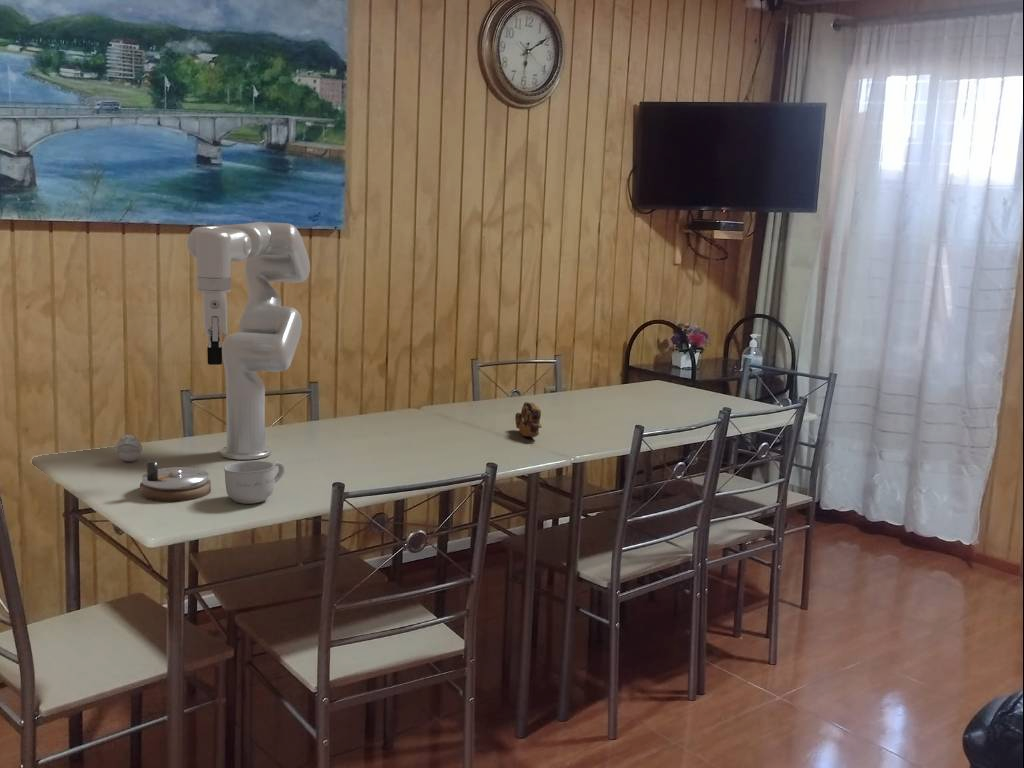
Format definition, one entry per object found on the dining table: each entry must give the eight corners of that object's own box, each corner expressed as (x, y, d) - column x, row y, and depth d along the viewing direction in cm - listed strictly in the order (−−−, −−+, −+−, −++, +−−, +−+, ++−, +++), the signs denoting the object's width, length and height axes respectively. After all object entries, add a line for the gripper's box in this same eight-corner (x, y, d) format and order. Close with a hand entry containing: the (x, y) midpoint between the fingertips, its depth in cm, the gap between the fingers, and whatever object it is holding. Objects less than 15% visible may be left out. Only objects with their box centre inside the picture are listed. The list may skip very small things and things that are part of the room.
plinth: (141, 484, 226) (141, 475, 226) (209, 481, 231) (209, 472, 231) (138, 503, 212) (138, 494, 212) (211, 499, 217) (211, 491, 217)
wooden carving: (508, 430, 296) (510, 397, 294) (522, 429, 298) (524, 397, 296) (531, 443, 281) (533, 408, 279) (546, 442, 283) (547, 408, 281)
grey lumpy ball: (113, 465, 241) (112, 437, 239) (118, 458, 247) (118, 430, 246) (140, 465, 242) (139, 437, 240) (144, 457, 248) (143, 430, 247)
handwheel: (163, 494, 212) (162, 469, 211) (130, 480, 221) (129, 456, 220) (220, 482, 222) (220, 459, 221) (187, 470, 231) (186, 447, 230)
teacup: (235, 510, 211) (234, 474, 210) (217, 497, 220) (216, 462, 218) (296, 501, 219) (296, 466, 218) (276, 488, 228) (276, 454, 226)
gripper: (232, 288, 221) (233, 369, 224) (229, 282, 235) (230, 358, 238) (197, 287, 219) (198, 369, 222) (196, 281, 233) (197, 359, 236)
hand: (214, 363), depth 230 cm, fingers closed
